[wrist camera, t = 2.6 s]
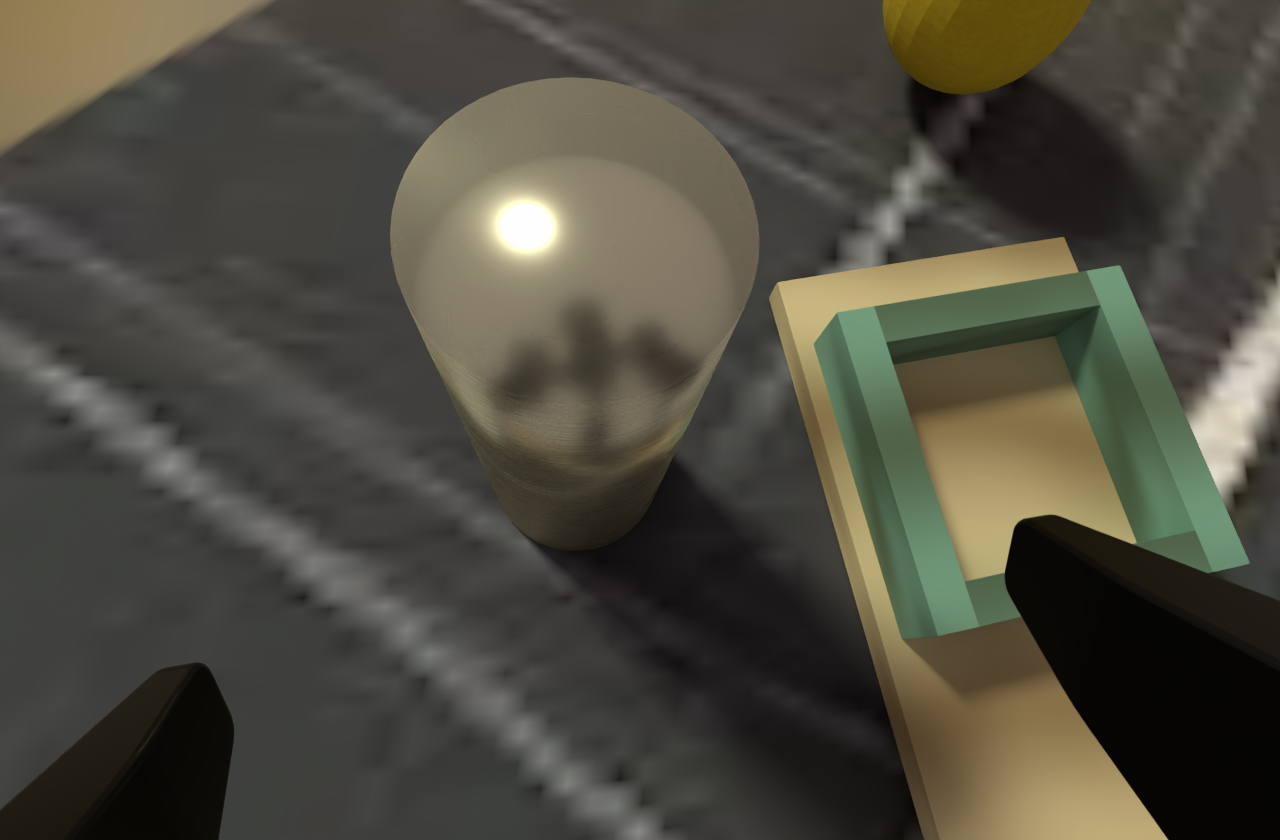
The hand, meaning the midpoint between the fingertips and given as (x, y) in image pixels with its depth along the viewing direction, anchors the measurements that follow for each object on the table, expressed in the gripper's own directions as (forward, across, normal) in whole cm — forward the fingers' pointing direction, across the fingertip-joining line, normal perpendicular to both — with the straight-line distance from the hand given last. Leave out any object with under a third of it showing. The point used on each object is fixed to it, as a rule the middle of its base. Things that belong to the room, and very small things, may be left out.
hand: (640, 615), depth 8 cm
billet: (+11, 0, +5) cm, 12 cm away
